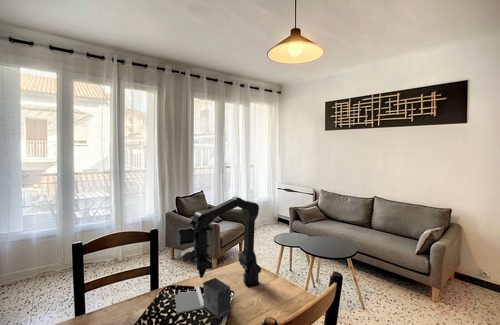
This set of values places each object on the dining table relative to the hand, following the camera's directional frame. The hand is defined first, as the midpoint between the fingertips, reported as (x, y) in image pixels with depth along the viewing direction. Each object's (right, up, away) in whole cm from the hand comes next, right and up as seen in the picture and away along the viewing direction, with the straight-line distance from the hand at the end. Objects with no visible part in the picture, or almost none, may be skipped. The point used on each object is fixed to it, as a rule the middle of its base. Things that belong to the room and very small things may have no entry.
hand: (201, 277), depth 112 cm
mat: (-5, -9, -2) cm, 10 cm away
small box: (+8, -9, -9) cm, 15 cm away
